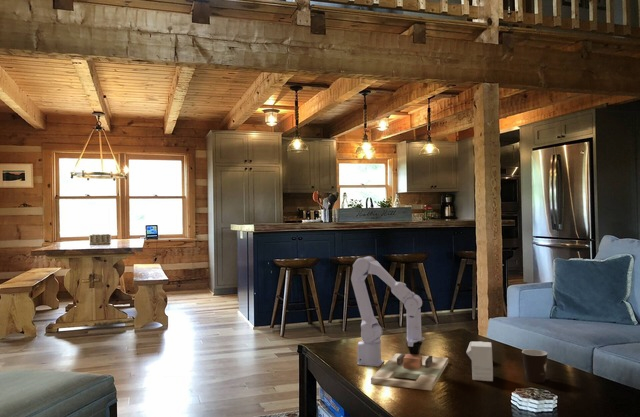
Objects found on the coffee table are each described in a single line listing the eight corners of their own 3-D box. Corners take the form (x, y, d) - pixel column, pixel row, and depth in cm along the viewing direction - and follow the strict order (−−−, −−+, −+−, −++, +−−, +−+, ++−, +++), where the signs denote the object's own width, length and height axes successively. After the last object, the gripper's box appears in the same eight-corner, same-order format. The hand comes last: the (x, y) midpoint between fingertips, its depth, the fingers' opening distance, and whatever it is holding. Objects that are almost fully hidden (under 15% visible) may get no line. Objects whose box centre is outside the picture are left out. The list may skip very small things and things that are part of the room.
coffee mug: (537, 385, 177) (536, 356, 177) (517, 378, 185) (516, 351, 185) (559, 379, 182) (558, 352, 182) (539, 373, 190) (538, 347, 190)
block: (403, 368, 194) (403, 357, 194) (407, 363, 199) (406, 353, 199) (419, 369, 191) (418, 359, 192) (422, 365, 197) (422, 355, 197)
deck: (371, 383, 183) (370, 371, 183) (395, 358, 215) (395, 347, 215) (431, 390, 174) (431, 377, 174) (448, 362, 206) (447, 351, 206)
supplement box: (493, 375, 189) (492, 342, 189) (493, 381, 182) (492, 346, 182) (472, 374, 191) (471, 340, 191) (471, 380, 184) (470, 345, 184)
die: (485, 366, 202) (494, 345, 205) (466, 355, 204) (475, 334, 207) (479, 368, 210) (488, 347, 213) (460, 357, 211) (469, 337, 214)
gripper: (420, 330, 192) (421, 366, 191) (427, 323, 205) (428, 356, 205) (401, 329, 194) (402, 364, 194) (410, 322, 208) (411, 355, 207)
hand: (414, 360), depth 200 cm, fingers closed
